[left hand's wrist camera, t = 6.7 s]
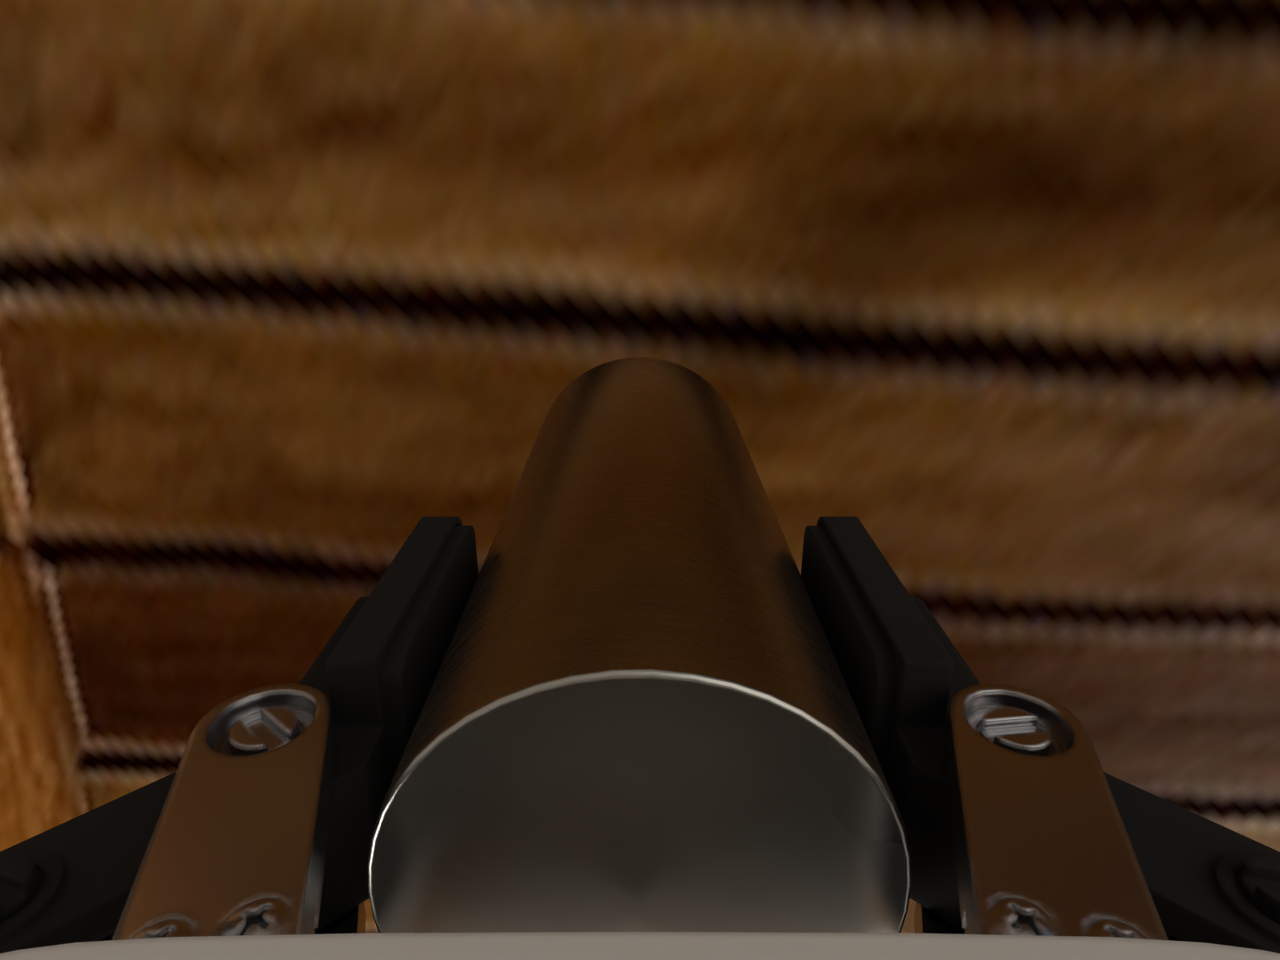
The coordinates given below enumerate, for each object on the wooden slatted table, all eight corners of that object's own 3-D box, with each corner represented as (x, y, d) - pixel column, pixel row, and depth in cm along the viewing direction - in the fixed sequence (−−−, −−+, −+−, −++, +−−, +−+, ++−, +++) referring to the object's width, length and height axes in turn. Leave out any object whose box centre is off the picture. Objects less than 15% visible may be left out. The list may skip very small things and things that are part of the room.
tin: (566, 566, 20) (459, 1110, 8) (514, 381, 18) (279, 733, 6) (756, 528, 19) (935, 1043, 8) (721, 336, 18) (883, 620, 6)
